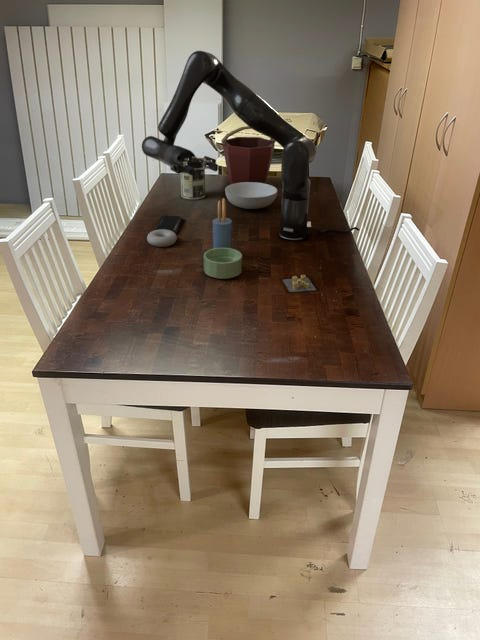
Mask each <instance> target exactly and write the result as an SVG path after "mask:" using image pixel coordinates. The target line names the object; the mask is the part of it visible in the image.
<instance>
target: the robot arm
mask: <svg viewBox="0 0 480 640" xmlns="http://www.w3.org/2000/svg"><path fill="white" fill-rule="evenodd" d="M202 84H204V85H207V87H209V88H211V89H213V90H214V91H215V92H216V93H217V94H218V95H220V96H221V98H223V99H224V101H225V102H226V104H227V105H228V106H229V108H230V110H231V111H232V113H234V114H235V116H236V117H237V118H238V119H239V120H240V121H242V122H243V123H244V124H245V125H246V126H249V127H250V128H252V129H251V130H253V131H255V132H257V133H259V134H261V135H263V136H266V137H268V138H269V139H270V138H271V139H273V140H275V141H276V142H275V143H277V144H278V145H280V146H281V147H282V148H283V149H282V153H281V163H280V164H281V168H280V169H281V171H280V172H281V173H280V178H281V182H282V189H281V190H282V191H281V192H282V193H281V205H280V222H279V235H278V236H279V238H280V239H283V240H285V241H291V242H292V241H293V242H295V241H302V240H305V241H306V240H307V234H308V235H311V234H312V233H311V232H312V230H314V231H318V233H320V234H323V233H324V234H325V233H326V232H328V231H332V232H337V233H342V234H343V233H344V234H347V233H350V232H352V231H354V230H356V231H358V232H359V231H360V228H359V227H357V226H354V227H351V228H349V229H346V230H342V229H337V228H333V227H332V228H331V227H329V228H326V229H324V230H322V229H320V228H319V227H315V226H312V221H308V220H309V204H310V195H311V179H310V178H309V167H310V166H309V165H310V164H311V163H312V162H313V161H314V160H315V159H316V156H317V147H316V145H315V142H314V141H313V140H312V139H311V138H310V137H309V136H308V135H306V134H304V133H303V132H302V131H300V130H299V129H297V128H296V127H294V126H293V125H291V123H289V122H288V121H287V120H286V119H285V118H284V117H282V116H281V114H279V113H278V111H276V110H275V109H274V108H273V107H272V106H271V105H270V104H269V103H268V102H266V101H265V100H264V99H263V98H262V97H261V96H260V95H259V94H258V93H256V92H255V91H253V90H252V88H250V87H249V86H247V85H246V84H245V83H243V82H242V81H240V80H239V79H238V78H237V77H235V76H234V75H233V74H232V73H231V72H230V71H229V70H228V69H227V68H226V66H224V64H223V63H222V62H221V61H220V59H218V57H217V56H215V55H214V54H213V53H211V52H207V51H205V50H196V51H194V52H192V53H191V54H190V55H189V56H188V58H187V61H186V63H185V65H184V68H183V71H182V74H181V77H180V80H179V81H178V85H177V87H176V89H175V92H174V94H173V96H172V99H171V101H170V103H169V105H168V106H167V108H166V110H165V112H164V114H163V116H162V117H161V119H160V121H159V123H158V125H157V130H158V132H159V133H160V134H161V135H162V136H164V139H161V138H158V137H156V136H153V135H150V136H149V135H148V136H146V137H145V138H144V139H143V140H142V142H141V151H142V153H143V154H144V155H145V156H146V157H148V158H151V159H154V160H156V161H159V162H161V163H163V164H165V165H166V166H168V167H170V168H169V169H170V171H172V172H174V173H175V174H178V175H179V174H180V175H181V172H182V173H188V174H190V175H194V170H196V169H200V170H204V169H205V170H206V169H207V170H211V171H213V172H218V171H219V164H218V163H217V159H215V158H213V157H210V156H208V155H205V156H203V157H198V156H196V155H195V153H194V152H193V151H192V150H190V149H188V148H185V147H183V146H180V145H176V144H175V142H176V139H177V135H178V133H179V132H180V131H181V129H182V127H183V125H184V123H185V121H186V120H187V117H188V113H189V110H190V106H191V103H192V100H193V98H194V96H195V95H196V92H197V91H198V90H199V88H200V87H201V85H202ZM201 163H202V164H203V167H200V166H201Z"/></svg>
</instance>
